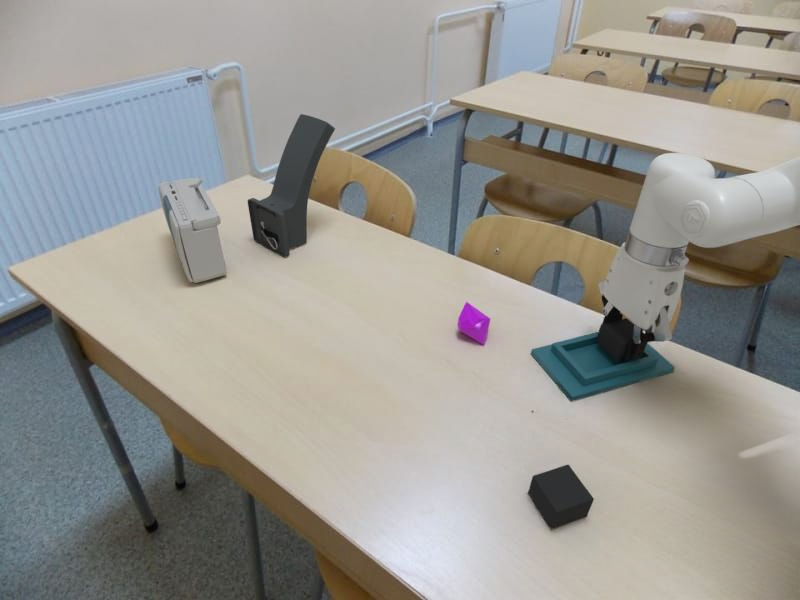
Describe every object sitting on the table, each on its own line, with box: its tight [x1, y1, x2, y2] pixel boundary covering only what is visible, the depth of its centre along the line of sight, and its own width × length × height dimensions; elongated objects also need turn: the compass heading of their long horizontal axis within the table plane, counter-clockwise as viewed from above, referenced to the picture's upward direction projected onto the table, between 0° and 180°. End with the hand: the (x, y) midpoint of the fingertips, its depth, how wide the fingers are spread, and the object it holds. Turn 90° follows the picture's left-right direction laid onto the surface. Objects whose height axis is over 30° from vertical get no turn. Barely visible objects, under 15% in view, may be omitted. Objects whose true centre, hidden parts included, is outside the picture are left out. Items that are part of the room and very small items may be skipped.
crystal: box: [457, 301, 491, 346], centre depth 86 cm, size 5×5×5 cm
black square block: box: [527, 464, 595, 530], centre depth 61 cm, size 5×5×4 cm
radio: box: [158, 177, 227, 284], centre depth 100 cm, size 21×8×20 cm, turn 28°
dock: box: [530, 331, 676, 402], centre depth 81 cm, size 11×19×2 cm, turn 110°
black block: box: [596, 317, 645, 361], centre depth 81 cm, size 5×5×4 cm
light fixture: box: [247, 113, 336, 258], centre depth 107 cm, size 11×17×24 cm, turn 139°
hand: (619, 345), depth 81 cm, fingers closed on black block, 5 cm apart
